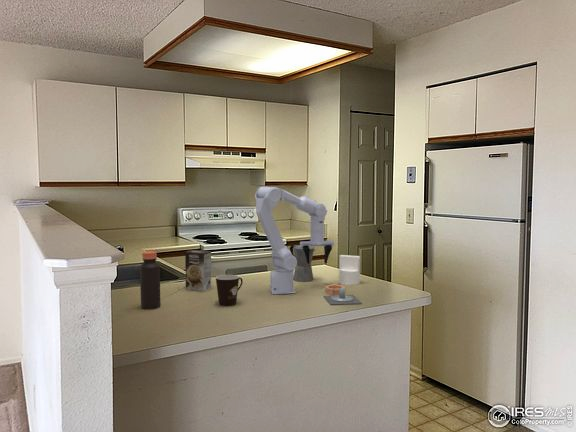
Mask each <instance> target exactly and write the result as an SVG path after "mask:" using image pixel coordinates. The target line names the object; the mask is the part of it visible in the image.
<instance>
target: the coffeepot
mask: <svg viewBox="0 0 576 432" xmlns="http://www.w3.org/2000/svg"><path fill="white" fill-rule="evenodd" d="M301 242H305V240H301ZM308 247H309V249H310V252H309V264H308V263H307V260H306V256H305V253H304V250H303V248H302V247H300V244H299V245H298V244H292V243H291V245H290V246H289V250H290V251H291V253H292V255H293V256H294V257H295V258H296V260H297V265H296V267H295V269H294V271H293V281H295V282H299V283H307V282H313V281H314V273H313V267H312V261H313V256H314V251H316V249H315V246H308Z"/></svg>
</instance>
